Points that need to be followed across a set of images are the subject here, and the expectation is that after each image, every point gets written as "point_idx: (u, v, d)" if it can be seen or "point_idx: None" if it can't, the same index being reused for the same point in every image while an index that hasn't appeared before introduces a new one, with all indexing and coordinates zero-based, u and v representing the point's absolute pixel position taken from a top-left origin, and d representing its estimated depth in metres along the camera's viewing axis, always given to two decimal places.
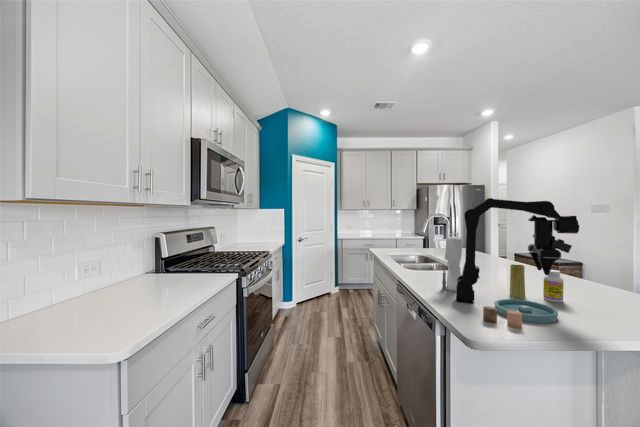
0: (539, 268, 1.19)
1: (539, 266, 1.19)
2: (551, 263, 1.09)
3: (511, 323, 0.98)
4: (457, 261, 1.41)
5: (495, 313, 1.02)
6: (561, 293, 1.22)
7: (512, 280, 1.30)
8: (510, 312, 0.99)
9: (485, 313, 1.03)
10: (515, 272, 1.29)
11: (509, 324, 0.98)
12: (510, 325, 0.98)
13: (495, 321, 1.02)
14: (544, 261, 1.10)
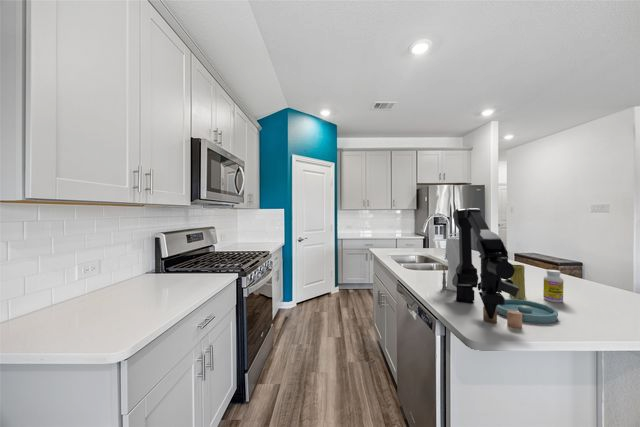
0: None
1: None
2: (494, 306, 1.00)
3: (511, 323, 0.98)
4: (457, 261, 1.41)
5: (495, 313, 1.02)
6: (561, 293, 1.22)
7: (512, 280, 1.30)
8: (510, 312, 0.99)
9: (485, 313, 1.03)
10: (515, 272, 1.29)
11: (509, 324, 0.98)
12: (510, 325, 0.98)
13: (495, 321, 1.02)
14: (487, 304, 1.01)
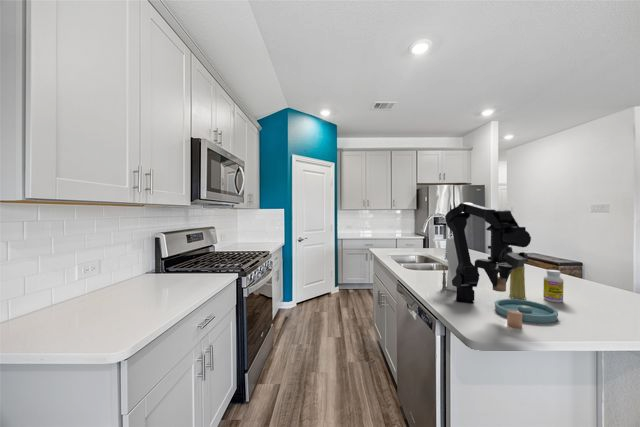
0: None
1: None
2: (494, 274, 1.05)
3: (511, 323, 0.98)
4: (457, 261, 1.41)
5: (500, 282, 1.06)
6: (561, 293, 1.22)
7: (512, 280, 1.30)
8: (510, 312, 0.99)
9: None
10: (515, 272, 1.29)
11: (509, 324, 0.98)
12: (510, 325, 0.98)
13: (500, 290, 1.06)
14: (489, 271, 1.07)
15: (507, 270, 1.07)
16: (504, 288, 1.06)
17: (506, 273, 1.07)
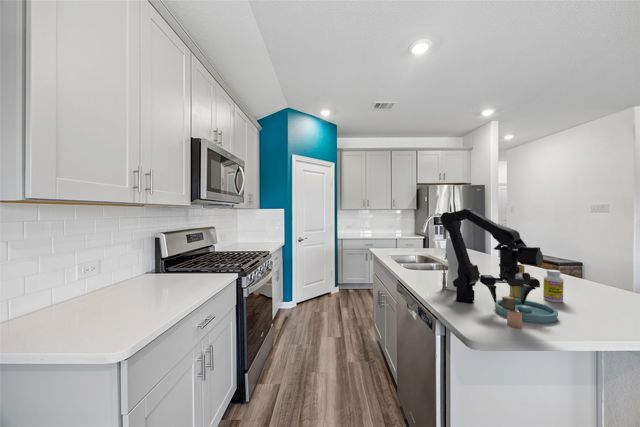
0: (521, 302, 1.11)
1: (521, 299, 1.11)
2: None
3: (511, 323, 0.98)
4: (457, 261, 1.41)
5: (506, 302, 1.10)
6: (561, 293, 1.22)
7: None
8: (510, 312, 0.99)
9: None
10: None
11: (509, 324, 0.98)
12: (510, 325, 0.98)
13: None
14: (490, 287, 1.14)
15: (524, 289, 1.09)
16: (510, 308, 1.10)
17: (524, 292, 1.10)
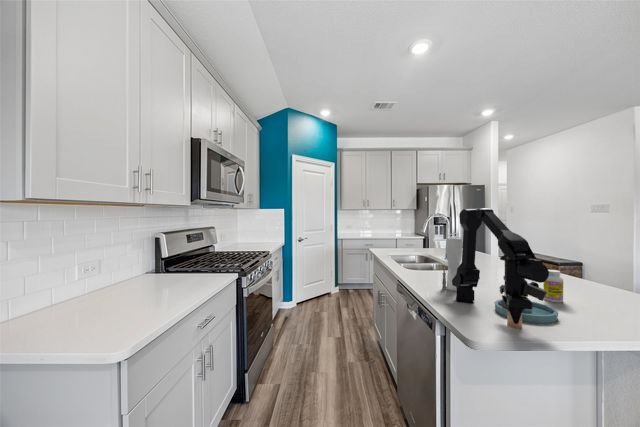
0: None
1: None
2: (520, 311, 0.95)
3: (511, 323, 0.98)
4: (457, 261, 1.41)
5: None
6: (561, 293, 1.22)
7: None
8: None
9: None
10: None
11: (509, 324, 0.99)
12: (510, 325, 0.98)
13: None
14: (512, 308, 0.96)
15: None
16: None
17: None
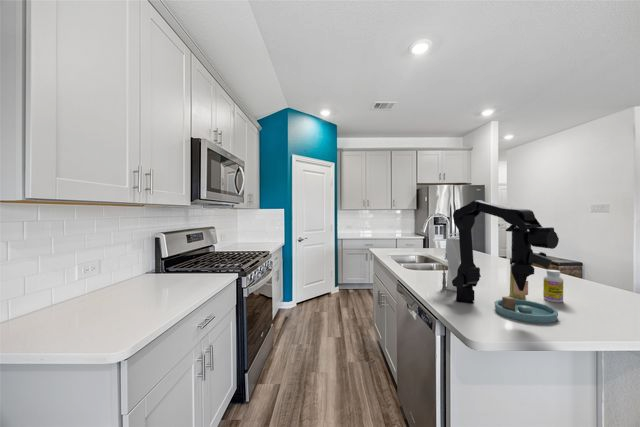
0: None
1: None
2: (525, 278, 0.99)
3: (516, 290, 1.02)
4: (457, 261, 1.41)
5: (506, 302, 1.10)
6: (561, 293, 1.22)
7: (512, 280, 1.30)
8: None
9: None
10: None
11: (515, 291, 1.03)
12: (516, 292, 1.03)
13: None
14: (517, 275, 1.00)
15: None
16: (510, 308, 1.10)
17: None
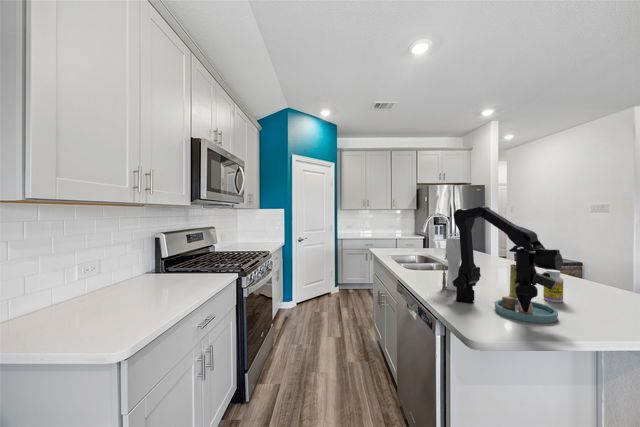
0: None
1: None
2: (529, 300, 1.00)
3: (521, 312, 1.05)
4: (457, 261, 1.41)
5: (506, 302, 1.10)
6: (561, 293, 1.22)
7: (512, 280, 1.30)
8: None
9: None
10: (515, 272, 1.29)
11: None
12: None
13: None
14: (521, 297, 1.01)
15: None
16: (510, 308, 1.10)
17: None
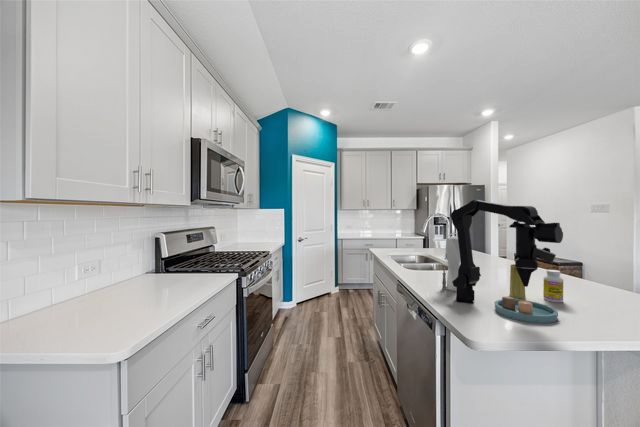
0: None
1: None
2: (529, 274, 1.00)
3: (521, 312, 1.05)
4: (457, 261, 1.41)
5: (506, 302, 1.10)
6: (561, 293, 1.22)
7: (512, 280, 1.30)
8: (521, 302, 1.06)
9: None
10: (515, 272, 1.29)
11: None
12: None
13: None
14: (522, 271, 1.01)
15: None
16: (510, 308, 1.10)
17: None
